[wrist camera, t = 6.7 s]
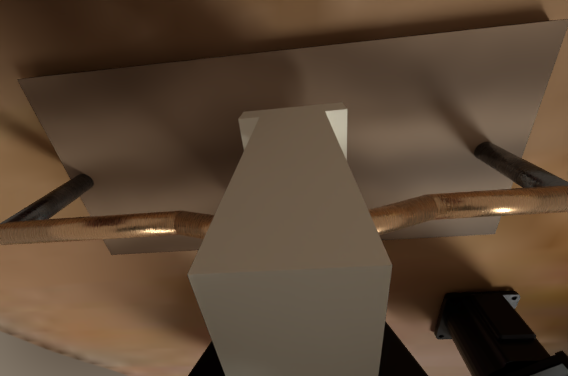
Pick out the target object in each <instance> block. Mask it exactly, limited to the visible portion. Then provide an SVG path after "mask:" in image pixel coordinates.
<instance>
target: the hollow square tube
mask: <svg viewBox="0 0 568 376" xmlns="http://www.w3.org/2000/svg"><path fill="white" fill-rule="evenodd" d="M238 121H239V126H240V132H241V137H242V143H243V148H244V152H243V154H242V157H241V159H240V161H239V163H238V165H237V167H236V170H235V172H234V174H233V176H232V178H231V181H230V183H229V185H228V187H227V189H226V191H225V194H224V196H223V198H222V200H221V202H220V205H219V207H218V209H217V211H216V213H215V215H214V218H213V220H212V222H211V224H210V226H209V228H208V231H207V233H206V235H205V237H204V239H203V242H202V244H201V246H200V248H199V250H198V252H197V255H196V257H195V259H194V261H193V263H192V266H191V268H190V270H189V272H188V274H187V275H188V278H189V281H190V283H191V286H192V289H193V291H194V294H195V297H196V299H197V302H198V305H199V307H200V310H201V313H202V315H203V318H204V321H205V323H206V326H207V329H208V331H209V334H210V336H211V339H212V342H213V344H214V347H215V350H216V352H217V355H218V358H219V360H220V363H221V366H222V368H223V371H224V374H225V376H378V374H379V366H380V358H381V351H382V343H383V335H384V327H385V319H386V311H387V303H388V295H389V287H390V279H391V272H392V263H391V261H390V259H389V256H388V254H387V252H386V250H385V247H384V245H383V243H382V240H381V238H380V236H379V234H378V231H377V229H376V227H375V224H374V222H373V220H372V218H371V215H370V213H369V211H368V208H367V206H366V204H365V202H364V199H363V197H362V195H361V192H360V190H359V188H358V186H357V183H356V181H355V179H354V176H353V174H352V172H351V170H350V167H349V165H348V163H347V108H346V107H345V105H344V104H343V103H342V102H341V103H331V104H320V105H310V106H299V107H288V108H278V109H267V110H257V111H246V112H243V113H242V115H241V116H240V117H239V119H238Z"/></svg>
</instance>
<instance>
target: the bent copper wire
mask: <svg viewBox="0 0 568 376" xmlns="http://www.w3.org/2000/svg"><path fill="white" fill-rule="evenodd" d="M474 155H475V157H476V158H477V159H479V160H481V161H482V162H484V163H485V164H487V165H488V166H490V167H491V168H493V169H495V170H496V171H498V172H499V173H501V174H502V175H504V176H506V177H507V178H509V179H510V180H512V181H513V182H515V183H516V184H518V185H520V186H521V187H523V188H515V189H500V190H485V191H470V192H455V193H440V194H426V195H422V196H418V197H415V198H411V199H407V200H403V201H399V202H396V203H392V204H388V205H384V206H381V207H377V208H373V209H369V210H368V211H369V213H370V215H371V218H372V220H373V222H374V224H375V227H376V229H377V231H378V234H379V235H382V234H386V233H389V232H393V231H396V230H400V229H403V228H406V227H410V226H413V225H417V224H420V223H424V222H427V221H431V220H439V219H456V218H473V217H490V216H506V215H523V214H540V213H557V212H568V182H567V181H565V180H563V179H561V178H559V177H557V176H555V175H553V174H551V173H549V172H547V171H545V170H544V169H542V168H540V167H538V166H536V165H534V164H532V163H530V162H528V161H526V160H524V159H522V158H520V157H518V156H516V155H514V154H512V153H511V152H509V151H507V150H505V149H503V148H501V147H499V146H497V145H495V144H493V143H491V142H483V143H481V144H479V145H478V146H477V147H476V149H475V151H474ZM93 186H94V182H93V180H92V178H91V177H90V176H88V175H86V174H79V175H77V176H76V177H74V178H72V179H71V180H69V181H68V182H66V183H64V184H63V185H61V186H60V187H58V188H56V189H55V190H53V191H52V192H50V193H48V194H47V195H45V196H44V197H42V198H40V199H39V200H37V201H35V202H34V203H32V204H31V205H29V206H27V207H26V208H24V209H23V210H21V211H19V212H18V213H16V214H15V215H13V216H11V217H10V218H8V219H7V220H5V221H3V222H2V223H0V245H15V244H32V243H49V242H66V241H83V240H100V239H117V238H134V237H151V236H168V235H184V236H189V237H194V238H200V239H204V237H205V235H206V233H207V231H208V228H209V226H210V224H211V222H212V220H213V218H214V215H210V214H203V213H196V212H189V211H167V212H152V213H137V214H122V215H107V216H91V217H76V218H61V219H49V218H51V217H52V216H53V215H55V214H56V213H57V212H59V211H60V210H62V209H63V208H64V207H66V206H67V205H68V204H70V203H71V202H73V201H74V200H75V199H77V198H78V197H79V196H81V195H82V194H84V193H85V192H86V191H88V190H89V189H91V188H92V187H93Z"/></svg>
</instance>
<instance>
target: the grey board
mask: <svg viewBox="0 0 568 376" xmlns="http://www.w3.org/2000/svg"><path fill="white" fill-rule="evenodd" d="M567 27H568V19H563V20H551V21H542V22H533V23H523V24H514V25H505V26H496V27H487V28H478V29H469V30H460V31H450V32H441V33H432V34H423V35H414V36H405V37H396V38H387V39H378V40H368V41H359V42H350V43H341V44H332V45H323V46H314V47H305V48H296V49H286V50H277V51H268V52H259V53H250V54H241V55H232V56H223V57H213V58H204V59H195V60H186V61H177V62H168V63H159V64H150V65H141V66H131V67H122V68H113V69H104V70H95V71H86V72H77V73H68V74H59V75H49V76H40V77H32V78H25V79H18V82H19V84H20V86H21V88H22V89H23V91H24V93H25V95H26V97H27V99H28V101H29V103H30V104H31V106H32V108H33V110H34V112H35V114H36V116H37V117H38V119H39V121H40V123H41V125H42V127H43V129H44V130H45V132H46V134H47V136H48V138H49V140H50V142H51V143H52V145H53V147H54V149H55V151H56V153H57V155H58V156H59V158H60V160H61V162H62V164H63V166H64V168H65V169H66V171H67V173H68V175H69V177H70V179H72V178H74V177H76V176H77V175H79V174H86V175H88V176H90V177H91V178H92V180H93V182H94V186H93V187H92V188H91V189H89V190H88V191H86V192H85V193H84V194H82V195H81V196H80V197H81V199H82V201H83V203H84V205H85V207H86V209H87V210H88V212H89V214H90V216H107V215H122V214H137V213H152V212H167V211H189V212H196V213H203V214H210V215H215V213H216V211H217V209H218V207H219V205H220V202H221V200H222V198H223V196H224V194H225V191H226V189H227V187H228V185H229V183H230V181H231V178H232V176H233V174H234V172H235V170H236V167H237V165H238V163H239V161H240V159H241V157H242V154H243V152H244V148H243V143H242V137H241V132H240V126H239V121H238V119H239V117H240V116H241V115H242V113H243V112H246V111H257V110H267V109H278V108H288V107H299V106H310V105H320V104H331V103H341V102H342V103H343V104H344V105H345V107H346V108H347V163H348V165H349V167H350V170H351V172H352V174H353V176H354V179H355V181H356V183H357V186H358V188H359V190H360V192H361V195H362V197H363V199H364V202H365V204H366V206H367V208H368V210H369V209H373V208H377V207H381V206H384V205H388V204H392V203H396V202H399V201H403V200H407V199H411V198H415V197H418V196H422V195H426V194H440V193H455V192H470V191H485V190H500V189H511V187H512V184H513V181H512V180H510V179H509V178H507V177H506V176H504V175H502V174H501V173H499V172H498V171H496V170H495V169H493V168H491V167H490V166H488V165H487V164H485V163H484V162H482V161H481V160H479V159H477V158H476V157H475V155H474V151H475V149H476V147H477V146H478V145H479V144H481V143H483V142H491V143H493V144H495V145H497V146H499V147H501V148H503V149H505V150H507V151H509V152H511V153H512V154H514V155H516V156H518V157H520V158H522V155H523V152H524V150H525V147H526V144H527V141H528V138H529V135H530V132H531V130H532V127H533V124H534V121H535V118H536V115H537V113H538V110H539V107H540V104H541V101H542V98H543V95H544V93H545V90H546V87H547V84H548V81H549V78H550V76H551V73H552V70H553V67H554V64H555V61H556V58H557V56H558V53H559V50H560V47H561V44H562V41H563V39H564V36H565V33H566V30H567ZM500 218H501V216H490V217H473V218H456V219H439V220H431V221H427V222H424V223H420V224H417V225H413V226H410V227H406V228H403V229H400V230H396V231H393V232H389V233H386V234H382V235H379V236H380V238H381V240H394V239H412V238H431V237H449V236H467V235H486V234H495V232H496V229H497V226H498V224H499V221H500ZM103 240H104V242H105V244H106V246H107V248H108V249H109V251H110V253H111V255H117V254H136V253H154V252H172V251H191V250H199V248H200V246H201V244H202V242H203V239H200V238H194V237H189V236H184V235H168V236H151V237H134V238H117V239H103Z"/></svg>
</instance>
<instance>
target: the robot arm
mask: <svg viewBox="0 0 568 376" xmlns="http://www.w3.org/2000/svg"><path fill="white" fill-rule="evenodd" d="M519 299H520V295H519V294H518V293H517V292H516V291H499V292H473V293H450V294H447V295H445V297H444V300H443V304H442V307H441V311H440V315H439V318H438V322H437V325H436V329H435V333H434V334H435V336H436V338H437V339H453V341H454V343H455V345H456V347H457V349H458V351H459V353H460V355H461V356H462V358H463V360H464V362H465V364H466V366H467V368H468V370H469V371H470V373H471V375H472V376H568V356H567V355H566V354H565V353H564V352H563V351H559V352H557V353H555V354H556V355H553V356H550V355H549V354H548V352H547V351H546V350H545V349H544V347H543V346H542V345H541V344H540V343H539V341H538V340H537V339H536V335H535V334H534V332H533V331H532V330H531V329H530V327H529V326H528V325H527V324H526V323H525V321H524V320H523V319H522V318H521V317H520V315H519V314H518V313H517V312H516V310H515V308H516V306H517V303H518V301H519ZM188 376H225V374H224V371H223V368H222V366H221V363H220V360H219V358H218V355H217V352H216V350H215V347H214V344H213V342H212V341H211V343H210V344H209V346H208V347H207V349H206V350H205V352H204V353H203V355H202V356H201V358H200V359H199V360H198V362H197V363H196V365H195V366H194V368H193V369H192V371H191V372H190V374H189V375H188ZM378 376H428V375H427V374H426V372H425V371H424V370H423V369H422V367H421V366H420V365H419V363H418V362H417V361H416V360H415V358H414V357H413V356H412V355H411V353H410V352H409V351H408V349H407V348H406V347H405V346H404V344H403V343H402V342H401V340H400V339H399V338H398V337H397V335H396V334H395V333H394V331H393V330H392V329H391V328H390V326H389V325H388V324H387V323H386V321H385V327H384V335H383V343H382V351H381V358H380V366H379V374H378Z"/></svg>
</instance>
